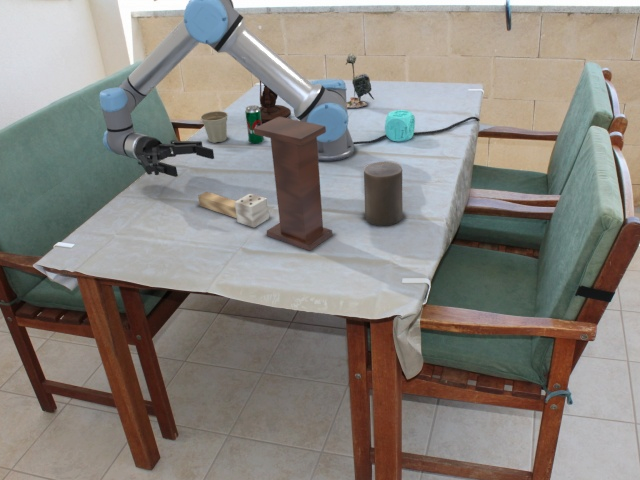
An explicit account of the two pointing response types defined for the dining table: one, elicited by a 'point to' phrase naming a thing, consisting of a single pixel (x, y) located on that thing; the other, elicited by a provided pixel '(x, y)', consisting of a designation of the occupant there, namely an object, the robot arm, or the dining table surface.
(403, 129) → the decorative dice
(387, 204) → the pillar candle
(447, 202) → the dining table surface
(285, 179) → the plant stand
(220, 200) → the die stick
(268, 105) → the dark brown sculpture
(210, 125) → the flower pot
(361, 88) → the plant with pod
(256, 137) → the soda can
